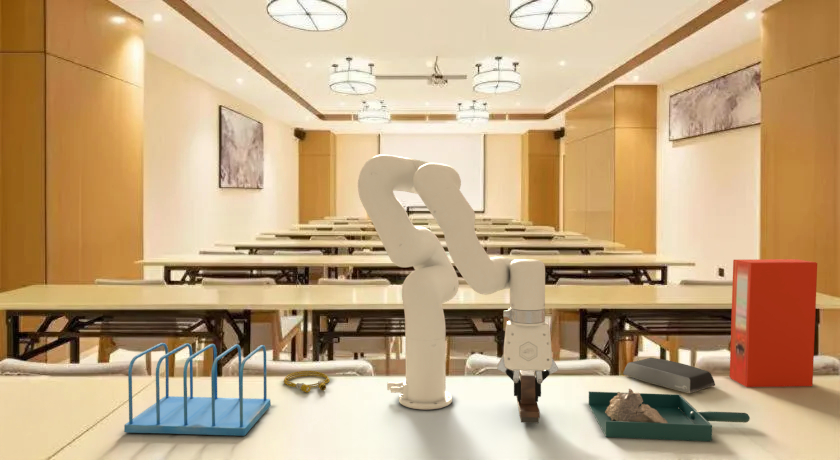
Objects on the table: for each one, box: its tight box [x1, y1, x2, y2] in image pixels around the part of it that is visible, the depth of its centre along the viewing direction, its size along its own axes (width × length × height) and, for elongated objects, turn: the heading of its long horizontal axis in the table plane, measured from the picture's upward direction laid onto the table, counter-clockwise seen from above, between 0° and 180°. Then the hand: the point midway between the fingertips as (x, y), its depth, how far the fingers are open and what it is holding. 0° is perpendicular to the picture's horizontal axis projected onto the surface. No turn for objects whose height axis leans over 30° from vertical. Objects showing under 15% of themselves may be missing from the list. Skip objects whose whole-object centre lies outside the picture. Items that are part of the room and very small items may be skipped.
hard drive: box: [622, 357, 716, 394], centre depth 154 cm, size 13×19×4 cm
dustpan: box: [588, 391, 751, 442], centre depth 125 cm, size 31×19×3 cm, turn 84°
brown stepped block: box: [515, 370, 541, 424], centre depth 128 cm, size 4×14×9 cm, turn 174°
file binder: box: [729, 258, 818, 388], centre depth 153 cm, size 8×17×32 cm, turn 93°
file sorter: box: [123, 342, 272, 437], centre depth 126 cm, size 25×17×15 cm
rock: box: [605, 388, 668, 423], centre depth 123 cm, size 6×14×7 cm, turn 32°
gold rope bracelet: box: [283, 370, 330, 393], centre depth 152 cm, size 12×16×2 cm
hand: (527, 398), depth 128 cm, fingers closed on brown stepped block, 3 cm apart
